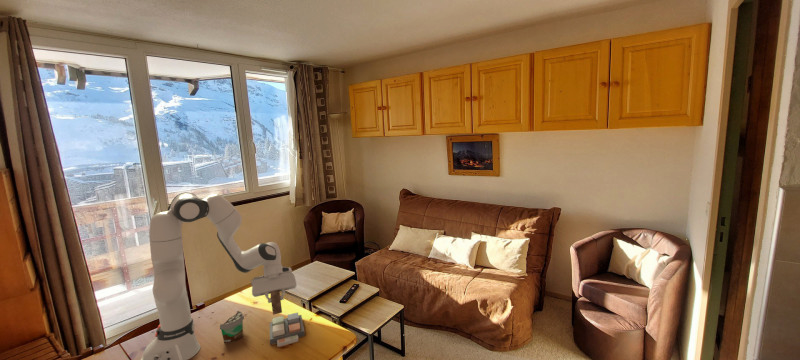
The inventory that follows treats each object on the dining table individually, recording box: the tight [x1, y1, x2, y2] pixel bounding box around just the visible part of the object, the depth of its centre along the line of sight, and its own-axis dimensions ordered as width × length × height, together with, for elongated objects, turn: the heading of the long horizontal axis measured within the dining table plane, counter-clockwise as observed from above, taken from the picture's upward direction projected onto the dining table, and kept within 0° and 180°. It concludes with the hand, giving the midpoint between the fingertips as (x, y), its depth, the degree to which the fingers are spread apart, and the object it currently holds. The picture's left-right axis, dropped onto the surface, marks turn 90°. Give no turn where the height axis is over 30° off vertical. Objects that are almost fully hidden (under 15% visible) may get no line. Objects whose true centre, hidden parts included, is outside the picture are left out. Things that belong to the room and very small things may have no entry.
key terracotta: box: [289, 323, 301, 333], centre depth 153 cm, size 5×5×2 cm
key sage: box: [271, 315, 285, 326], centre depth 157 cm, size 5×5×2 cm
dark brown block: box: [270, 290, 283, 316], centre depth 156 cm, size 4×4×10 cm
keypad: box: [269, 314, 306, 348], centre depth 154 cm, size 15×18×2 cm
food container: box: [219, 310, 245, 344], centre depth 152 cm, size 12×6×10 cm, turn 168°
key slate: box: [287, 312, 300, 325], centre depth 160 cm, size 5×5×2 cm
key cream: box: [273, 323, 285, 337], centre depth 151 cm, size 5×5×2 cm
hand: (276, 300), depth 155 cm, fingers closed on dark brown block, 4 cm apart
